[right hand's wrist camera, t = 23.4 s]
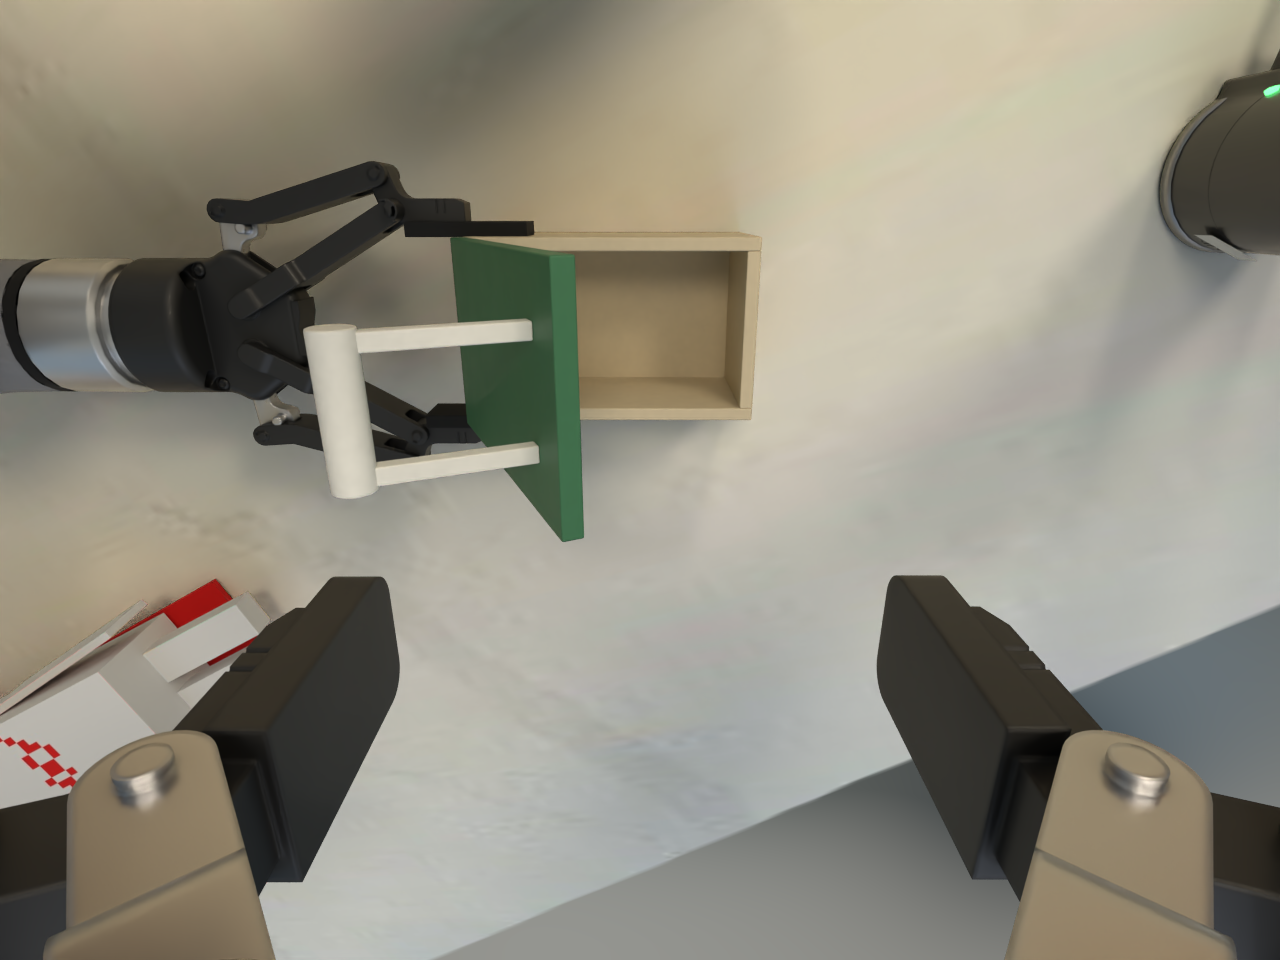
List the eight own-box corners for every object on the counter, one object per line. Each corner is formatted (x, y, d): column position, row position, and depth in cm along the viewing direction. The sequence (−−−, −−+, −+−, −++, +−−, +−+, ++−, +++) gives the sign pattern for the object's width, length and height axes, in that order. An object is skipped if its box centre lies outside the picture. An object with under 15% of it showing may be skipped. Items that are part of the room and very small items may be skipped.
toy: (291, 740, 47) (-88, 939, 48) (346, 639, 60) (45, 797, 61) (172, 600, 43) (-238, 819, 44) (258, 523, 56) (-62, 694, 57)
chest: (740, 232, 44) (762, 236, 36) (732, 384, 48) (751, 420, 40) (493, 232, 45) (460, 236, 36) (504, 384, 48) (476, 420, 40)
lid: (575, 254, 22) (289, 261, 19) (584, 538, 26) (345, 585, 22) (466, 237, 36) (293, 239, 33) (482, 421, 40) (326, 440, 37)
